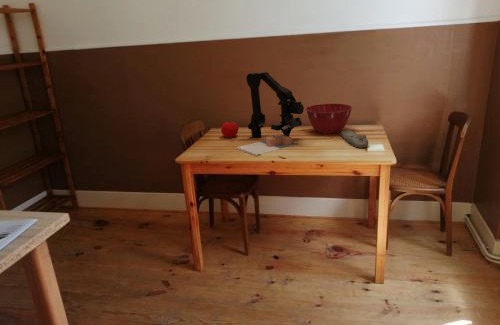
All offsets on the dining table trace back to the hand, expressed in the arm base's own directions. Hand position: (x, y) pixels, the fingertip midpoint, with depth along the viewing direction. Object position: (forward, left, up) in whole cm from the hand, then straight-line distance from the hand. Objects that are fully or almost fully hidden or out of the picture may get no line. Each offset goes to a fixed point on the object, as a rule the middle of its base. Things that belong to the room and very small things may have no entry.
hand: (287, 139), depth 224 cm
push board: (-1, -13, -2) cm, 14 cm away
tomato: (-38, -16, -3) cm, 41 cm away
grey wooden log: (+23, +30, -3) cm, 38 cm away
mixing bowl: (-3, +36, -3) cm, 36 cm away
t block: (0, -8, -1) cm, 8 cm away
